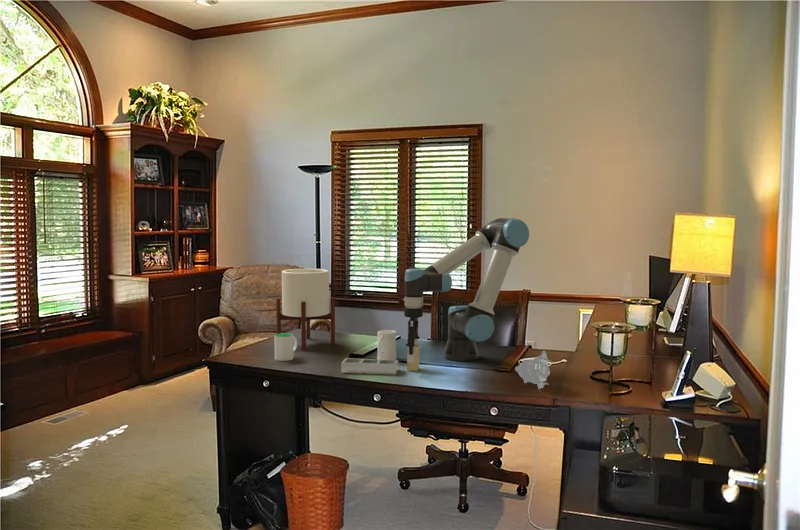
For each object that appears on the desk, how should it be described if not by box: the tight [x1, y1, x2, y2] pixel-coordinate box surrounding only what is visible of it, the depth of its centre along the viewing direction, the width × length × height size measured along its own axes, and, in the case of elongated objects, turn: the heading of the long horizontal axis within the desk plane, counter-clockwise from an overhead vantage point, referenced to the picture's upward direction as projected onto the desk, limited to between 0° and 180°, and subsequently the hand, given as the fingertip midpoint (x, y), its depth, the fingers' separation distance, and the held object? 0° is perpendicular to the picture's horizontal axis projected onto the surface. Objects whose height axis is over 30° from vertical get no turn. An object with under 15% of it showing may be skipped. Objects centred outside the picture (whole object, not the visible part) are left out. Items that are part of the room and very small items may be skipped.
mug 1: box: [273, 332, 298, 362], centre depth 276 cm, size 12×8×10 cm
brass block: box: [406, 344, 420, 372], centre depth 257 cm, size 4×4×10 cm
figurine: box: [514, 350, 552, 390], centre depth 233 cm, size 10×15×14 cm
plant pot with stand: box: [275, 268, 336, 352], centre depth 303 cm, size 22×22×36 cm
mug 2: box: [376, 329, 397, 360], centre depth 274 cm, size 12×8×12 cm
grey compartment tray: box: [340, 357, 399, 376], centre depth 254 cm, size 22×8×4 cm, turn 83°
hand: (412, 358), depth 257 cm, fingers open, 13 cm apart
